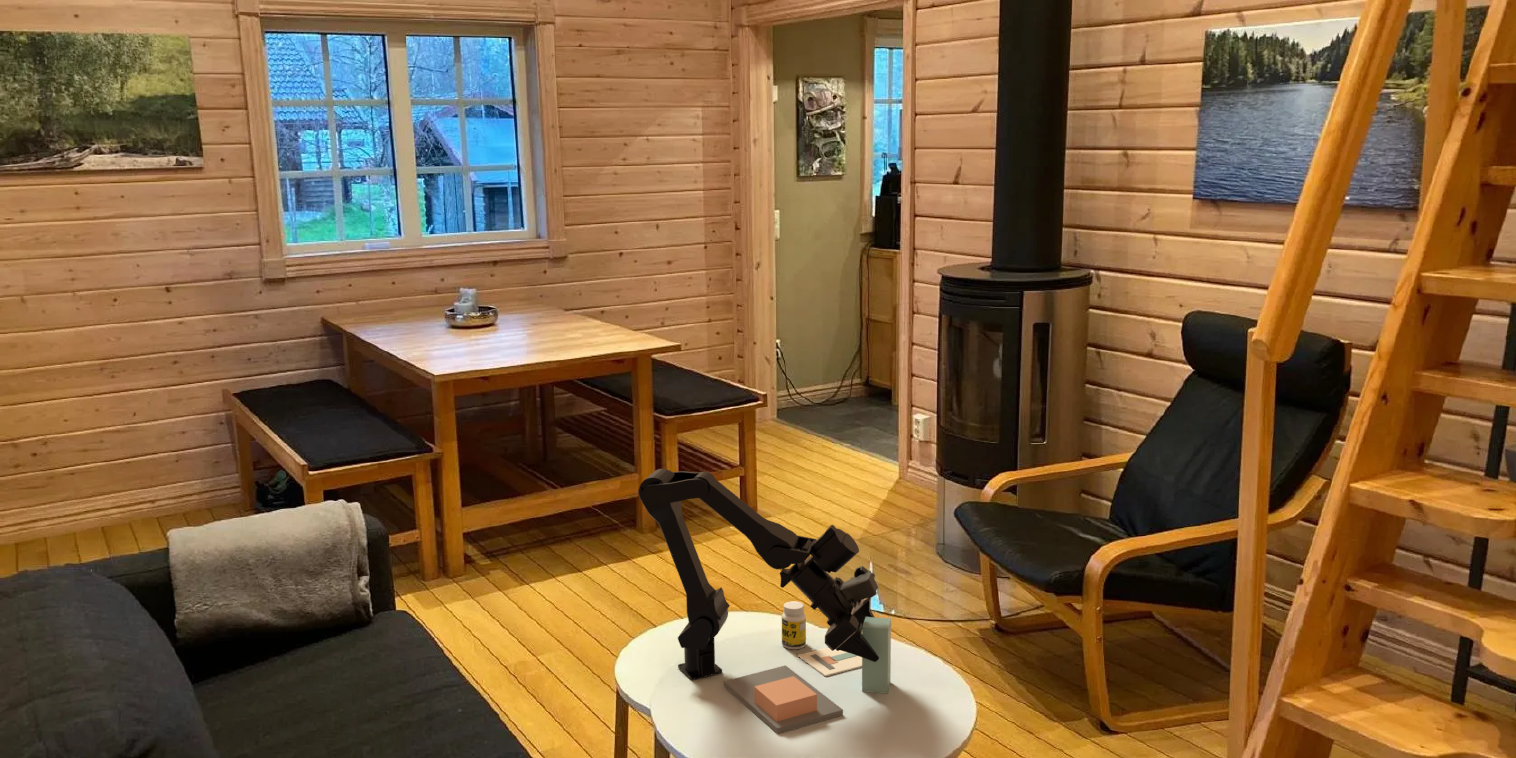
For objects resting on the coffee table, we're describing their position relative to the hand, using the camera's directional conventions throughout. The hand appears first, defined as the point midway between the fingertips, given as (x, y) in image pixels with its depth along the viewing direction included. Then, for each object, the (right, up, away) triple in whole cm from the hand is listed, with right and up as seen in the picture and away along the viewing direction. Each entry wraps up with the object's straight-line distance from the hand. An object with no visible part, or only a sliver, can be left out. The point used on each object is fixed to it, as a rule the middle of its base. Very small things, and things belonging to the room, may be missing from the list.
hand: (880, 649), depth 207 cm
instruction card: (-6, -5, +13) cm, 15 cm away
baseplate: (-18, -8, -3) cm, 20 cm away
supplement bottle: (-15, -4, +20) cm, 25 cm away
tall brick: (-1, -7, +2) cm, 7 cm away
